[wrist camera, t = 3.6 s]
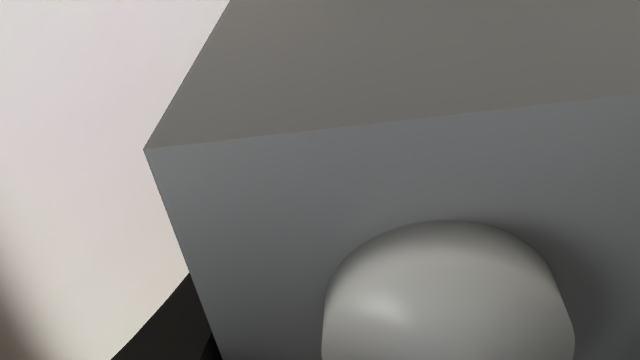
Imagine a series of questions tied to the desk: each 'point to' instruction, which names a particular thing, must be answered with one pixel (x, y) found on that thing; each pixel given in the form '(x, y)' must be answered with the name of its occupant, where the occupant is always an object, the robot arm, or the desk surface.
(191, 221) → the housing
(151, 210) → the desk surface
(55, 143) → the desk surface
